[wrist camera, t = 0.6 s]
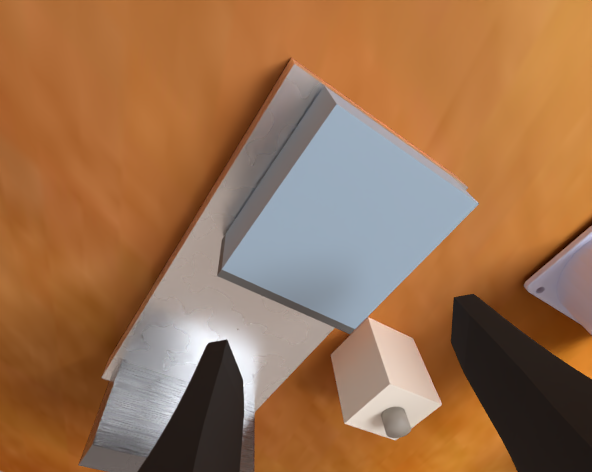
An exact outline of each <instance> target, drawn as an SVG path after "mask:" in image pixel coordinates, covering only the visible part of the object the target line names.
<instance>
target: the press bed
mask: <svg viewBox="0 0 592 472" xmlns="http://www.w3.org/2000/svg"><path fill="white" fill-rule="evenodd" d="M324 86H326V87H327V88H329V89H330V90H331V91H333V92H334V93H336V94H337V95H338V96H340V97H341V98H343V99H344V100H345V101H347V102H348V103H350V104H351V105H352V106H354V107H355V108H357V109H358V110H359V111H361V112H362V113H364V114H365V115H366V116H368V117H369V118H371V119H372V120H373V121H375V122H376V123H378V124H379V125H381V126H382V127H383V128H385V129H386V130H388V131H389V132H390V133H392V134H393V135H395V136H396V137H397V138H399V139H400V140H402V141H403V142H404V143H406V144H407V145H409V146H410V147H411V148H413V149H414V150H416V151H417V152H418V153H420V154H421V155H423V156H424V157H425V158H427V159H428V160H430V161H431V162H432V163H434V164H435V165H437V166H438V167H439V168H441V169H442V170H444V171H445V172H446V173H448V174H449V175H450V176H451V177H453V178H454V179H455V180H456V181H457V182H458V183H459V184H460V185H461V186H462V187H463V188H464V189H465V190H467V188H468V187H467V186H466V185H465V184H464V183H463V182H462V181H461V180H460V179H459V178H458V177H457V176H456V175H455V174H453V173H452V172H450V171H449V170H448V169H446V168H445V167H443V166H442V165H441V164H439V163H438V162H437V161H435V160H434V159H432V158H431V157H430V156H428V155H427V154H425V153H424V152H423V151H421V150H420V149H418V148H417V147H416V146H414V145H413V144H411V143H410V142H409V141H407V140H406V139H404V138H403V137H402V136H400V135H399V134H397V133H396V132H395V131H393V130H392V129H391V128H389V127H388V126H386V125H385V124H384V123H382V122H381V121H379V120H378V119H377V118H375V117H374V116H372V115H371V114H370V113H368V112H367V111H365V110H364V109H363V108H361V107H360V106H358V105H357V104H356V103H354V102H353V101H352V100H350V99H349V98H347V97H346V96H345V95H343V94H342V93H340V92H339V91H338V90H336V89H335V88H333V87H332V86H331V85H329V84H328V83H326V82H325V81H324V80H322V79H321V78H319V77H318V76H317V75H315V74H314V73H312V72H311V71H310V70H308V69H307V68H306V67H304V66H303V65H301V64H300V63H299V62H297V61H296V60H294V59H293V58H292V57H291V59H290V61H289V62H288V64H287V66H286V67H285V69H284V71H283V72H282V74H281V76H280V77H279V79H278V81H277V82H276V84H275V85H274V87H273V89H272V90H271V92H270V94H269V95H268V97H267V99H266V100H265V102H264V104H263V105H262V107H261V109H260V110H259V112H258V113H257V115H256V117H255V118H254V120H253V122H252V123H251V125H250V127H249V128H248V130H247V132H246V133H245V135H244V137H243V138H242V140H241V142H240V143H239V145H238V146H237V148H236V150H235V151H234V153H233V155H232V156H231V158H230V160H229V161H228V163H227V165H226V166H225V168H224V170H223V171H222V173H221V175H220V176H219V178H218V179H217V181H216V183H215V184H214V186H213V188H212V189H211V191H210V193H209V194H208V196H207V198H206V199H205V201H204V203H203V204H202V206H201V207H200V209H199V211H198V212H197V214H196V216H195V217H194V219H193V221H192V222H191V224H190V226H189V227H188V229H187V231H186V232H185V234H184V236H183V237H182V239H181V240H180V242H179V244H178V245H177V247H176V249H175V250H174V252H173V254H172V255H171V257H170V259H169V260H168V262H167V264H166V265H165V267H164V268H163V270H162V272H161V273H160V275H159V277H158V278H157V280H156V282H155V283H154V285H153V287H152V288H151V290H150V292H149V293H148V295H147V297H146V298H145V300H144V301H143V303H142V305H141V306H140V308H139V310H138V311H137V313H136V315H135V316H134V318H133V320H132V321H131V323H130V325H129V326H128V328H127V330H126V331H125V333H124V334H123V336H122V338H121V339H120V341H119V343H118V344H117V346H116V348H115V349H114V351H113V353H112V354H111V356H110V358H109V360H108V362H107V365H106V367H105V370H104V372H103V375H102V378H103V379H106V380H109V383H108V386H107V389H106V392H105V394H104V397H103V400H102V402H101V405H100V408H99V411H98V413H97V416H96V419H95V421H94V424H93V427H92V430H91V432H90V435H89V438H88V440H87V443H86V446H85V448H84V451H83V454H82V457H81V459H80V462H79V466H84V467H89V468H93V469H98V470H103V471H107V472H137V471H138V470H139V468H140V467H141V465H142V464H143V462H144V461H145V459H146V458H147V456H148V455H149V453H150V452H151V450H152V449H153V447H154V445H155V444H156V442H157V440H158V439H159V437H160V435H161V434H162V432H163V430H164V429H165V427H166V425H167V423H168V422H169V420H170V418H171V416H172V415H173V413H174V411H175V409H176V407H177V405H178V404H179V402H180V400H181V398H182V396H183V394H184V392H185V390H186V388H187V386H188V384H189V382H190V380H191V378H192V376H193V374H194V372H195V369H196V367H197V365H198V363H199V361H200V358H201V356H202V354H203V352H204V349H205V347H206V345H207V344H208V343H210V342H215V341H221V340H226V339H227V340H228V343H229V345H230V348H231V350H232V353H233V355H234V358H235V360H236V363H237V365H238V368H239V370H240V373H241V375H242V378H243V386H244V423H243V436H242V448H241V460H240V472H254V412H255V411H256V410H257V409H258V408H259V407H260V406H261V405H262V404H263V403H264V402H265V401H266V400H267V399H268V398H269V396H270V395H271V394H272V393H273V392H274V391H275V390H276V389H277V388H278V387H279V386H280V385H281V384H282V383H283V382H284V381H285V380H286V379H287V378H288V377H289V375H290V374H291V373H292V372H293V371H294V370H295V369H296V368H297V367H298V366H299V365H300V364H301V363H302V362H303V361H304V360H305V359H306V358H307V357H308V356H309V354H310V353H311V352H312V351H313V350H314V349H315V348H316V347H317V346H318V345H319V344H320V343H321V342H322V341H323V340H324V339H325V338H326V337H327V336H328V335H329V333H330V332H331V331H332V330H333V329H334V328H335V327H332V326H330V325H328V324H325V323H323V322H321V321H319V320H316V319H314V318H312V317H309V316H307V315H305V314H303V313H300V312H298V311H296V310H293V309H291V308H289V307H287V306H284V305H282V304H280V303H277V302H275V301H273V300H271V299H268V298H266V297H264V296H261V295H259V294H257V293H255V292H252V291H250V290H248V289H246V288H243V287H241V286H239V285H236V284H234V283H232V282H230V281H227V280H225V279H223V278H220V277H218V276H217V272H218V265H219V257H220V250H221V242H222V239H223V237H224V236H225V234H226V233H227V231H228V230H229V228H230V227H231V225H232V224H233V222H234V221H235V219H236V218H237V216H238V215H239V213H240V212H241V210H242V209H243V207H244V206H245V204H246V203H247V201H248V200H249V198H250V197H251V195H252V194H253V192H254V191H255V189H256V188H257V186H258V185H259V183H260V182H261V180H262V179H263V177H264V176H265V174H266V173H267V171H268V170H269V168H270V167H271V165H272V164H273V162H274V161H275V159H276V158H277V156H278V155H279V153H280V152H281V150H282V149H283V147H284V145H285V144H286V142H287V141H288V139H289V138H290V136H291V135H292V133H293V132H294V130H295V129H296V127H297V126H298V124H299V123H300V121H301V120H302V118H303V117H304V115H305V114H306V112H307V111H308V109H309V108H310V106H311V105H312V103H313V102H314V100H315V99H316V97H317V96H318V94H319V93H320V91H321V90H322V88H323V87H324Z"/></svg>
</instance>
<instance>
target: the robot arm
mask: <svg viewBox="0 0 592 472" xmlns="http://www.w3.org/2000/svg"><path fill="white" fill-rule="evenodd" d="M524 288H525V289H526V290H527V291H528V292H529V293H531V294H532V295H534V296H536V297H537V298H539V299H540V300H542V301H544V302H545V303H547V304H549V305H550V306H552V307H553V308H555V309H557V310H558V311H560V312H561V313H563V314H565V315H566V316H568V317H570V318H571V319H573V320H574V321H576V322H578V323H579V324H581V325H582V326H583V327H584V328H585V329H586V330H587V331H588V332H589V333H590V334H591V335H592V225H591V226H590V227H589V228H588V229H587V230H586V231H584V232H583V233H582V234H581V235H580V236H578V237H577V238H576V239H575V240H574V241H573V242H571V243H570V244H569V245H568V246H567V247H565V248H564V249H563V250H562V251H561V252H560V253H558V254H557V255H556V256H555V257H554V258H553V259H551V260H550V261H549V262H548V263H547V264H545V265H544V266H543V267H542V268H541V269H540V270H538V271H537V272H536V273H535V274H534V275H532V276H531V277H530V278H529V279H528V280H527V281H526V282H525V284H524ZM451 343H452V346H453V348H454V351H455V353H456V356H457V358H458V360H459V363H460V365H461V367H462V370H463V372H464V374H465V376H466V377H467V379H468V381H469V383H470V385H471V386H472V388H473V390H474V392H475V393H476V395H477V397H478V399H479V401H480V402H481V404H482V406H483V407H484V409H485V411H486V413H487V414H488V416H489V418H490V420H491V421H492V423H493V425H494V427H495V428H496V430H497V432H498V434H499V435H500V437H501V439H502V441H503V443H504V445H505V446H506V448H507V450H508V452H509V454H510V456H511V458H512V460H513V463H514V465H515V467H516V469H517V471H518V472H592V379H590V378H589V377H587V376H585V375H584V374H582V373H581V372H579V371H577V370H576V369H574V368H573V367H571V366H570V365H568V364H567V363H565V362H564V361H562V360H561V359H559V358H558V357H556V356H555V355H553V354H552V353H550V352H549V351H548V350H546V349H545V348H543V347H542V346H541V345H539V344H538V343H536V342H535V341H534V340H532V339H531V338H530V337H528V336H527V335H526V334H524V333H523V332H522V331H520V330H519V329H518V328H516V327H515V326H514V325H512V324H511V323H510V322H509V321H507V320H506V319H505V318H503V317H502V316H501V315H500V314H498V313H497V312H496V311H495V310H493V309H492V308H491V307H490V306H488V305H487V304H486V303H485V302H483V301H482V300H481V299H480V298H478V297H477V296H476V295H474V294H470V295H465V296H459V297H454V303H453V319H452V335H451ZM243 423H244V386H243V378H242V375H241V373H240V370H239V368H238V365H237V363H236V360H235V358H234V355H233V353H232V350H231V348H230V345H229V343H228V340H227V339H226V340H221V341H215V342H210V343H208V344H207V345H206V347H205V349H204V352H203V354H202V356H201V358H200V361H199V363H198V365H197V367H196V369H195V372H194V374H193V376H192V378H191V380H190V382H189V384H188V386H187V388H186V390H185V392H184V394H183V396H182V398H181V400H180V402H179V404H178V405H177V407H176V409H175V411H174V413H173V415H172V416H171V418H170V420H169V422H168V423H167V425H166V427H165V429H164V430H163V432H162V434H161V435H160V437H159V439H158V440H157V442H156V444H155V445H154V447H153V449H152V450H151V452H150V453H149V455H148V456H147V458H146V459H145V461H144V462H143V464H142V465H141V467H140V468H139V470H138V471H137V472H240V460H241V448H242V436H243Z"/></svg>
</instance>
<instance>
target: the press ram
mask: <svg viewBox="0 0 592 472" xmlns="http://www.w3.org/2000/svg"><path fill="white" fill-rule="evenodd" d="M478 204H479V203H478V202H477V201H476V200H475V199H474V198H473V197H472V196H471V195H470V194H469V193H468V192H467V191H466V190H465V189H464V188H463V187H462V186H461V185H460V184H459V183H458V182H457V181H456V180H455V179H454V178H453V177H451V176H450V175H449V174H448V173H446V172H445V171H444V170H442V169H441V168H439V167H438V166H437V165H435V164H434V163H432V162H431V161H430V160H428V159H427V158H425V157H424V156H423V155H421V154H420V153H418V152H417V151H416V150H414V149H413V148H411V147H410V146H409V145H407V144H406V143H404V142H403V141H402V140H400V139H399V138H397V137H396V136H395V135H393V134H392V133H390V132H389V131H388V130H386V129H385V128H383V127H382V126H381V125H379V124H378V123H376V122H375V121H373V120H372V119H371V118H369V117H368V116H366V115H365V114H364V113H362V112H361V111H359V110H358V109H357V108H355V107H354V106H352V105H351V104H350V103H348V102H347V101H345V100H344V99H343V98H341V97H340V96H338V95H337V94H336V93H334V92H333V91H331V90H330V89H329V88H327V87H326V86H324V87H323V88H322V90H321V91H320V93H319V94H318V96H317V97H316V99H315V100H314V102H313V103H312V105H311V106H310V108H309V109H308V111H307V112H306V114H305V115H304V117H303V118H302V120H301V121H300V123H299V124H298V126H297V127H296V129H295V130H294V132H293V133H292V135H291V136H290V138H289V139H288V141H287V142H286V144H285V145H284V147H283V149H282V150H281V152H280V153H279V155H278V156H277V158H276V159H275V161H274V162H273V164H272V165H271V167H270V168H269V170H268V171H267V173H266V174H265V176H264V177H263V179H262V180H261V182H260V183H259V185H258V186H257V188H256V189H255V191H254V192H253V194H252V195H251V197H250V198H249V200H248V201H247V203H246V204H245V206H244V207H243V209H242V210H241V212H240V213H239V215H238V216H237V218H236V219H235V221H234V222H233V224H232V225H231V227H230V228H229V230H228V231H227V233H226V234H225V236H224V237H223V239H222V242H221V250H220V257H219V265H218V272H217V276H218V277H220V278H223V279H225V280H227V281H230V282H232V283H234V284H236V285H239V286H241V287H243V288H246V289H248V290H250V291H252V292H255V293H257V294H259V295H261V296H264V297H266V298H268V299H271V300H273V301H275V302H277V303H280V304H282V305H284V306H287V307H289V308H291V309H293V310H296V311H298V312H300V313H303V314H305V315H307V316H309V317H312V318H314V319H316V320H319V321H321V322H323V323H325V324H328V325H330V326H332V327H335V328H337V329H339V330H341V331H344V332H346V333H348V334H351V333H352V332H353V331H354V330H355V329H356V328H357V327H358V326H359V325H360V324H361V323H362V322H363V321H364V320H365V319H366V318H367V317H368V316H369V315H370V314H371V313H372V312H373V311H374V310H375V309H376V308H377V307H378V305H379V304H380V303H381V302H382V301H383V300H384V299H385V298H386V297H387V296H388V295H389V294H390V293H391V292H392V291H393V290H394V289H395V288H396V287H397V286H398V285H399V284H400V283H401V282H402V281H403V280H404V279H405V278H406V277H407V276H408V275H409V274H410V273H411V272H412V271H413V270H414V269H415V268H416V267H417V266H418V265H419V264H420V263H421V262H422V261H423V260H424V259H425V258H426V257H427V256H428V255H429V254H430V253H431V252H432V251H433V250H434V249H435V248H436V247H437V246H438V245H439V244H440V243H441V242H442V241H443V240H444V239H445V238H446V237H447V236H448V235H449V234H450V233H451V232H452V231H453V230H454V229H455V228H456V227H457V226H458V225H459V224H460V222H461V221H462V220H463V219H464V218H465V217H466V216H467V215H468V214H469V213H470V212H471V211H472V210H473V209H474V208H475V207H476V206H477V205H478Z"/></svg>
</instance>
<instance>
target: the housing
mask: <svg viewBox="0 0 592 472" xmlns="http://www.w3.org/2000/svg"><path fill="white" fill-rule="evenodd" d="M331 359H332V364H333V369H334V374H335V379H336V384H337V389H338V394H339V399H340V404H341V409H342V414H343V419H344V424H347V425H350V426H353V427H356V428H359V429H362V430H366V431H369V432H372V433H375V434H378V435H381V436H384V437H387V438H390V439H393V440H397V439H398V438H400V437H403V436H405V435H407V434H408V433H409V432H410V431H411V428H413V427H414V426H415V425H416V424H418V423H419V422H420V421H422V420H423V419H424V418H426V417H427V416H428V415H429V414H431V413H432V412H433V411H435V410H436V409H437V408H438V407H440V406H441V405H442V403H441V400H440V398H439V396H438V394H437V391H436V389H435V387H434V385H433V382H432V380H431V378H430V376H429V373H428V371H427V369H426V367H425V364H424V362H423V360H422V358H421V355H420V353H419V351H418V349H417V346H416V344H415V342H414V339H413V338H411V337H409V336H407V335H405V334H403V333H401V332H398V331H396V330H394V329H392V328H390V327H388V326H386V325H384V324H381V323H379V322H377V321H375V320H373V319H371V318H369V317H368V318H367V319H366V320H365V321H364V322H363V323H362V324H361V325H360V326H359V327H358V328H357V329H356V330H355V331H354V332H353V333H352V334H351V335H350V336H349V337H348V338H347V339H346V340H345V341H344V342H343V343H342V344H341V345H340V346H339V347H338V348H337V349H336V350H335V351H334V352H333V353H332V354H331Z"/></svg>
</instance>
